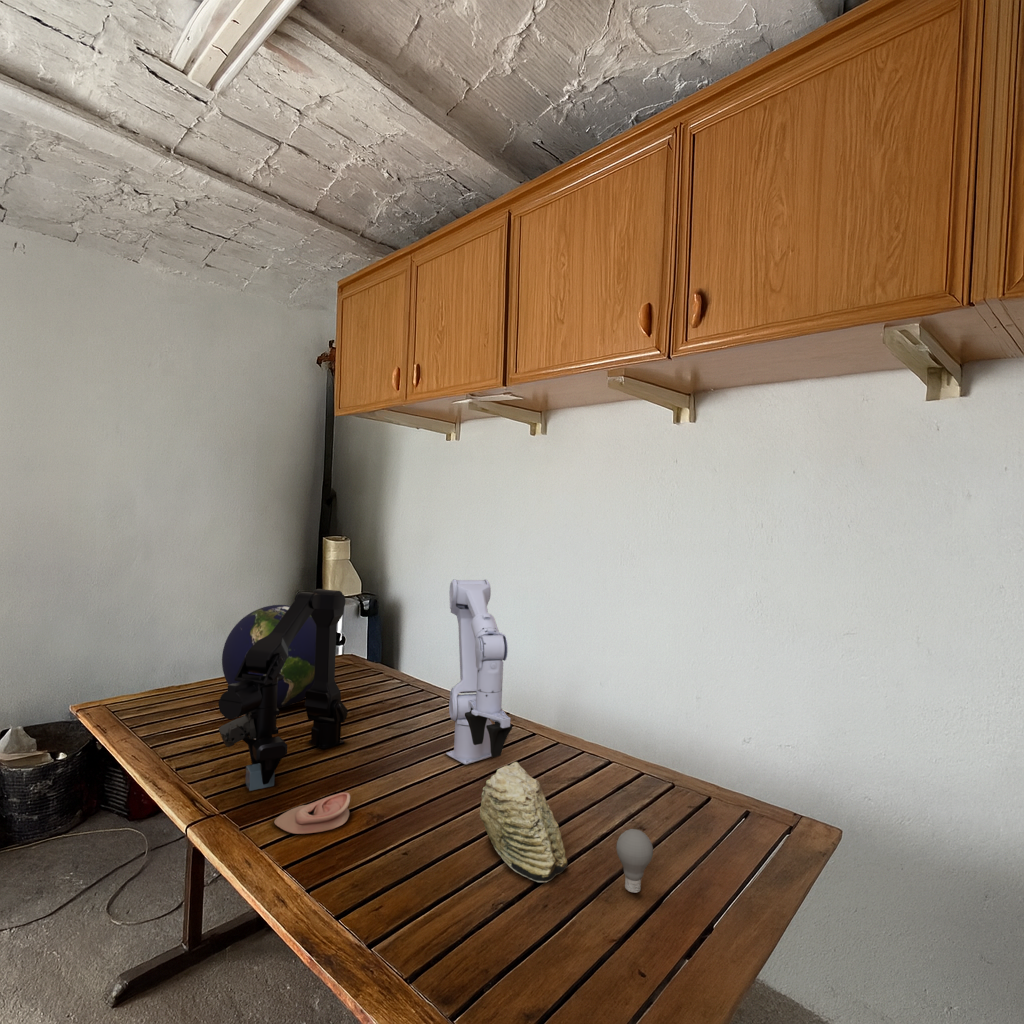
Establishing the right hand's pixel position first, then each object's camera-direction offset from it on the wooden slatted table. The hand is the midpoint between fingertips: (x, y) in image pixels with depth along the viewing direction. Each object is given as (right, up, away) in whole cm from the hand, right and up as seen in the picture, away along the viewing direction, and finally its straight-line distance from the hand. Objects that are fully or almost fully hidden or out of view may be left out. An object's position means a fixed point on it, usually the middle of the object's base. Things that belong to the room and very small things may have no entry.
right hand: (486, 749), depth 141 cm
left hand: (-49, -5, -3) cm, 50 cm away
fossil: (+7, -10, -26) cm, 29 cm away
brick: (-49, -7, -3) cm, 50 cm away
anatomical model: (-33, -8, -17) cm, 38 cm away
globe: (-65, -5, +47) cm, 80 cm away
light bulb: (+26, -10, -35) cm, 45 cm away
